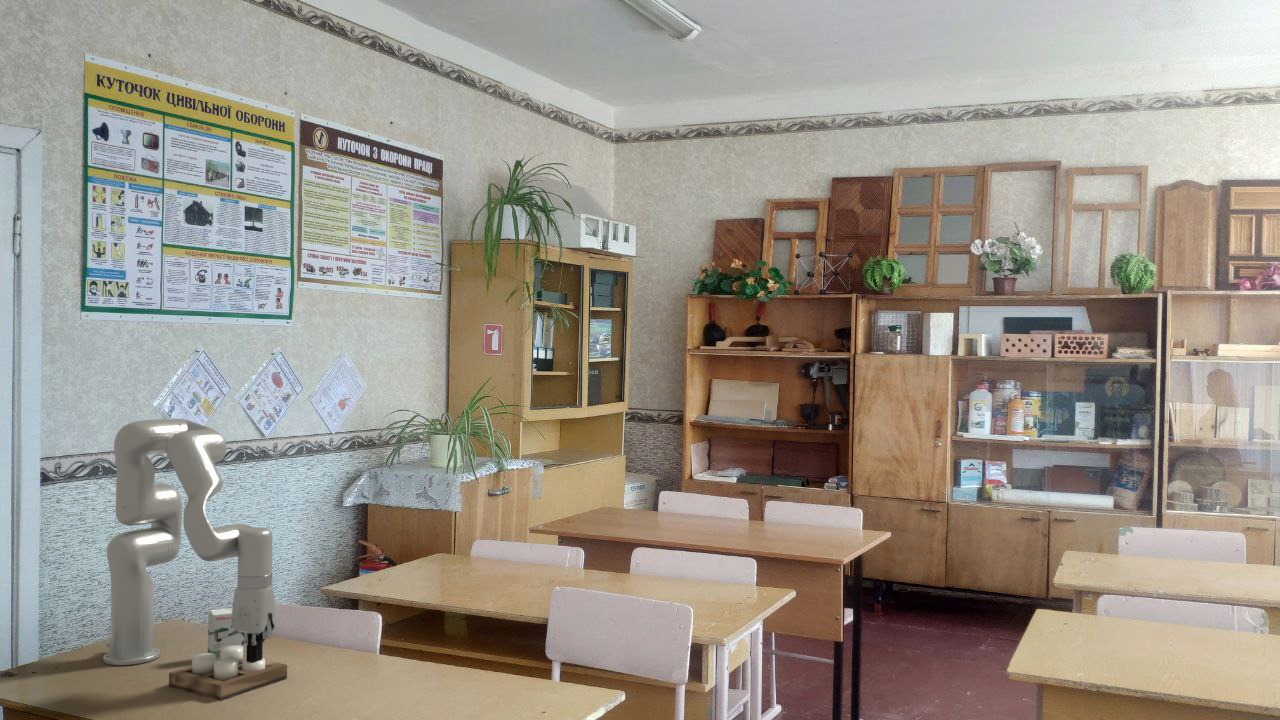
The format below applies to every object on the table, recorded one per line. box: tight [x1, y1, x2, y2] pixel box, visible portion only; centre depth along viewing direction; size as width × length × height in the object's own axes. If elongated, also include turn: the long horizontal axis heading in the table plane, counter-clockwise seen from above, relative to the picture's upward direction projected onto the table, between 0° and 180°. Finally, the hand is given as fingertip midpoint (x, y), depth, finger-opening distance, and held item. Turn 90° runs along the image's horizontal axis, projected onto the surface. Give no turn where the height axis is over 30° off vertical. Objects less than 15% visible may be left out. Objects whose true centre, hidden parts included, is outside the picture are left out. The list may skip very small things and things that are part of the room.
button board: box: [168, 655, 288, 701], centre depth 234 cm, size 18×18×3 cm
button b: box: [220, 645, 243, 665], centre depth 240 cm, size 5×5×4 cm
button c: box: [214, 658, 238, 680], centre depth 229 cm, size 5×5×4 cm
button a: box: [191, 652, 216, 675], centre depth 233 cm, size 5×5×4 cm
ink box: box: [207, 607, 247, 659], centre depth 254 cm, size 9×5×12 cm, turn 123°
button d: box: [242, 657, 266, 673], centre depth 236 cm, size 5×5×4 cm
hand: (254, 660), depth 236 cm, fingers closed
